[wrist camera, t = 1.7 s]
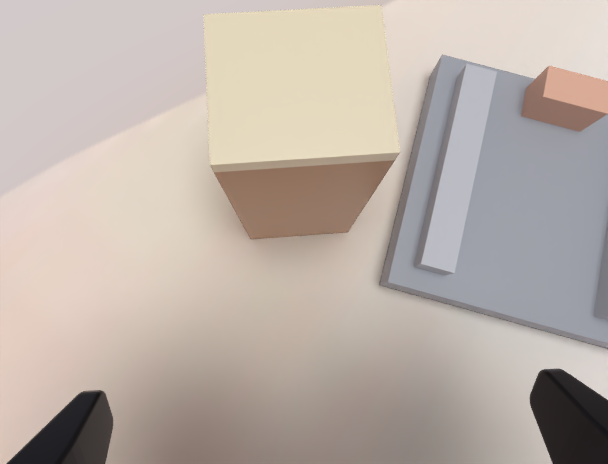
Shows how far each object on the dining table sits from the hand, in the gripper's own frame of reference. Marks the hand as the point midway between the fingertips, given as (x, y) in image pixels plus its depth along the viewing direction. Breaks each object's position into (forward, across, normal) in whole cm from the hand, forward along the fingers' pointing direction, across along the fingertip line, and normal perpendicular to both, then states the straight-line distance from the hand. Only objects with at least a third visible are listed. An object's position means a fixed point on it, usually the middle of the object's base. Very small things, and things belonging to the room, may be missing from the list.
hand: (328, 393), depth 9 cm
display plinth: (+14, -12, +3) cm, 18 cm away
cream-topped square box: (+15, 0, +2) cm, 15 cm away
